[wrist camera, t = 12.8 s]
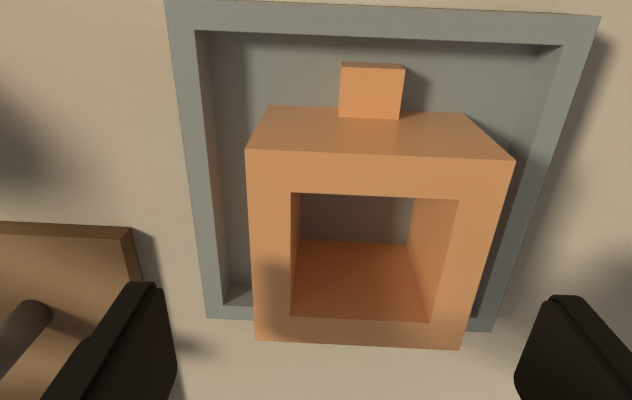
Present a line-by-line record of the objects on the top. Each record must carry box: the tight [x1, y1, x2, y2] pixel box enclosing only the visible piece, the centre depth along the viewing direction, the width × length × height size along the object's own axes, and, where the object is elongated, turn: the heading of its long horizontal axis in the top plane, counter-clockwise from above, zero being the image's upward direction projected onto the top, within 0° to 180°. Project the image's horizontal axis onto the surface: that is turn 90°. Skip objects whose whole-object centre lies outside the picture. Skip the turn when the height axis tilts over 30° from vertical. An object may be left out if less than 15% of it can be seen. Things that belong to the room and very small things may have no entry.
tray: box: [164, 0, 602, 332], centre depth 15 cm, size 13×13×2 cm
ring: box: [244, 61, 516, 350], centre depth 13 cm, size 9×7×4 cm
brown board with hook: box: [0, 221, 169, 400], centre depth 17 cm, size 12×10×6 cm
